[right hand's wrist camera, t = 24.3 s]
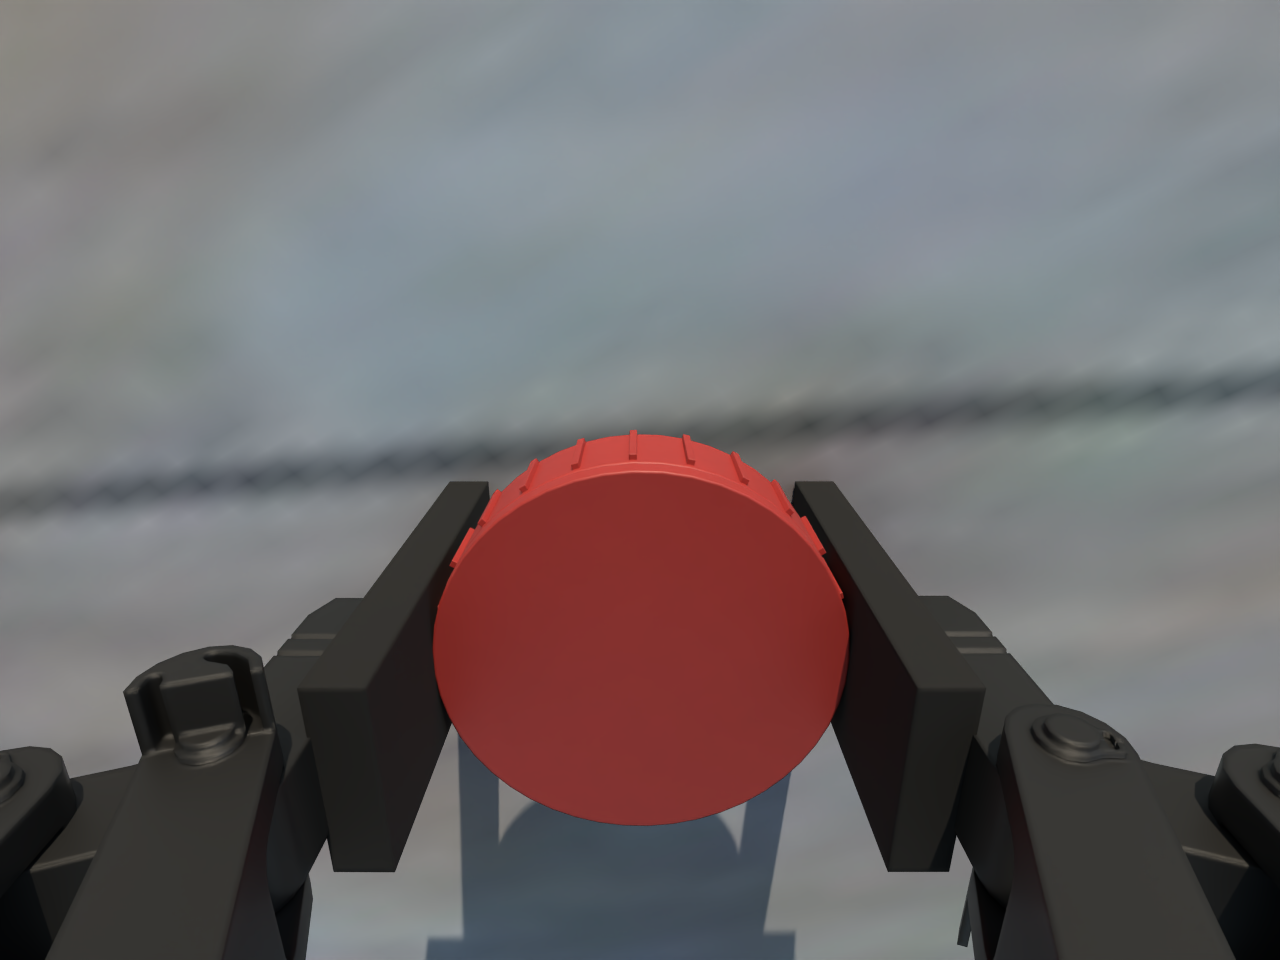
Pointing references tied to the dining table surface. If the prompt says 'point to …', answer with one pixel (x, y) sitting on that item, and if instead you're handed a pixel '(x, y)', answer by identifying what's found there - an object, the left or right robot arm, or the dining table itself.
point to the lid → (641, 632)
